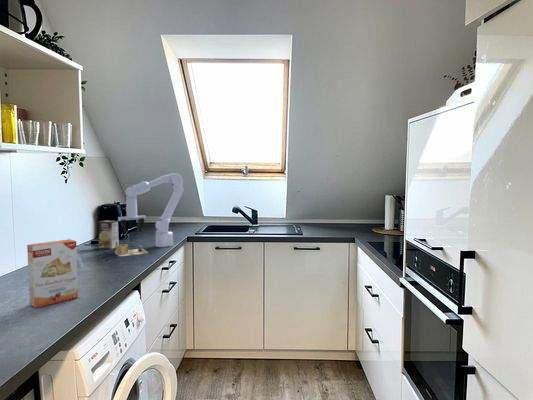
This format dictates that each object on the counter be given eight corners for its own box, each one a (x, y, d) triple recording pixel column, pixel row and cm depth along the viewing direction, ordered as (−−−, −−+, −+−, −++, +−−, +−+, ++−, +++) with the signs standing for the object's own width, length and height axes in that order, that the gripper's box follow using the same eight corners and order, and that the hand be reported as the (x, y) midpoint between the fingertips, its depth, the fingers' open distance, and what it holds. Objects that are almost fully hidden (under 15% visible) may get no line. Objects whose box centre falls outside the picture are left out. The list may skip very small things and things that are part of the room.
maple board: (142, 250, 210) (142, 248, 210) (148, 254, 199) (148, 252, 199) (114, 253, 203) (114, 251, 203) (119, 258, 192) (118, 256, 192)
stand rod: (141, 250, 205) (141, 245, 204) (142, 251, 203) (142, 245, 203) (137, 251, 204) (137, 245, 203) (138, 251, 202) (138, 246, 202)
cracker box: (35, 309, 123) (31, 246, 121) (29, 304, 127) (25, 244, 125) (79, 298, 134) (76, 240, 132) (72, 294, 138) (69, 238, 136)
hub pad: (128, 251, 204) (128, 250, 204) (131, 253, 197) (131, 253, 197) (114, 252, 200) (114, 252, 200) (116, 255, 194) (116, 255, 194)
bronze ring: (127, 251, 202) (126, 244, 202) (129, 253, 198) (129, 245, 197) (115, 252, 200) (115, 245, 199) (117, 254, 195) (117, 247, 194)
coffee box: (98, 249, 213) (97, 221, 212) (106, 247, 219) (105, 219, 218) (112, 250, 210) (111, 222, 209) (119, 247, 217) (118, 220, 215)
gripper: (119, 210, 202) (120, 234, 203) (146, 208, 209) (147, 232, 211) (117, 208, 208) (117, 233, 209) (143, 207, 215) (144, 230, 217)
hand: (132, 232), depth 210 cm, fingers open, 7 cm apart
